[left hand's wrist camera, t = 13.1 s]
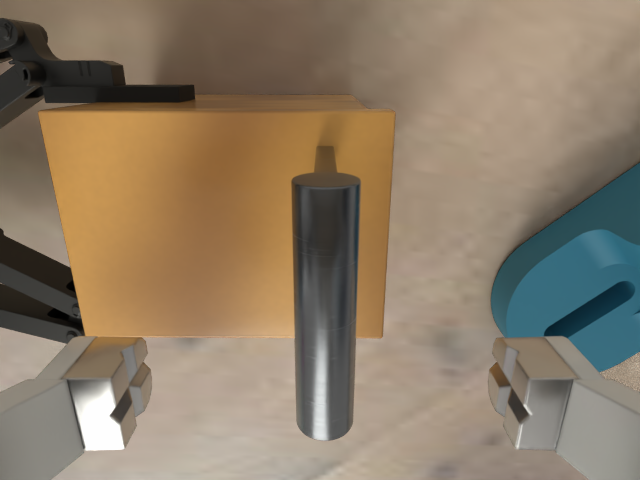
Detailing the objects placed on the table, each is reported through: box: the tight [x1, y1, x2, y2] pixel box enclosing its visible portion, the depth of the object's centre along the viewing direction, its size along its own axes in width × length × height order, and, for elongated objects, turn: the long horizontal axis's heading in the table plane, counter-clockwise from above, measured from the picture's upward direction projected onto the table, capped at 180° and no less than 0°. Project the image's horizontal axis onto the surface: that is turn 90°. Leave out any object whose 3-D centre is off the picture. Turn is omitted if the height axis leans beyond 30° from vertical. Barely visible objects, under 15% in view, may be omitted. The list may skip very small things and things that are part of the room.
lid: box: [38, 108, 396, 441], centre depth 16 cm, size 14×10×9 cm
